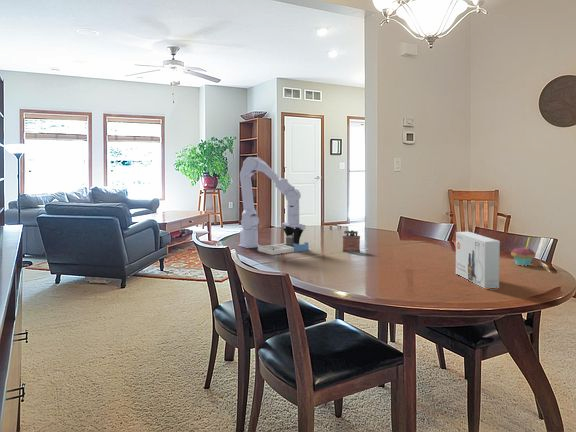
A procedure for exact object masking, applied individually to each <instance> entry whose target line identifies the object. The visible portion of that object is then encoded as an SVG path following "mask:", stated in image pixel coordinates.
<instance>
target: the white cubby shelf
mask: <svg viewBox="0 0 576 432" xmlns="http://www.w3.org/2000/svg"><path fill="white" fill-rule="evenodd" d="M293 245H294V247H291V246H287V245H286V242H285V243H277V244H269V245H268V244H267V245H261V246H260V247H257V252H260V253H263V254H267V255H272V256H274V255H278V254H279V255H281V253H282V254H287V253H297V252H304V251H309V246H310V245H309V242H307V241H305V242H304V243H303V244H302V243H299V245H297V244H293ZM273 249H274V250H273Z"/></svg>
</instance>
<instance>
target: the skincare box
mask: <svg viewBox="0 0 576 432" xmlns="http://www.w3.org/2000/svg"><path fill="white" fill-rule="evenodd" d="M500 246H501V241H500V240H498V239H494V238H491V237H488V236H484V235H481V234H478V233H475V232H471V231H456V232H455V275H456V274H458V275H460V276H462V277H464V278H466V279H468V280H469V281H471V282H473V283H475V284H477V285H479V286H481V287H483V288H499V289H500ZM458 275H457V276H458ZM460 276H459V277H460ZM462 277H461V278H462ZM464 278H463V279H464ZM466 279H465V280H466ZM468 280H467V281H468ZM469 281H468V282H469ZM471 282H470V283H471ZM473 283H472V284H473ZM475 284H474V285H475ZM477 285H476V286H477ZM479 286H478V287H479ZM481 287H480V288H481ZM483 288H482V289H483Z"/></svg>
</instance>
